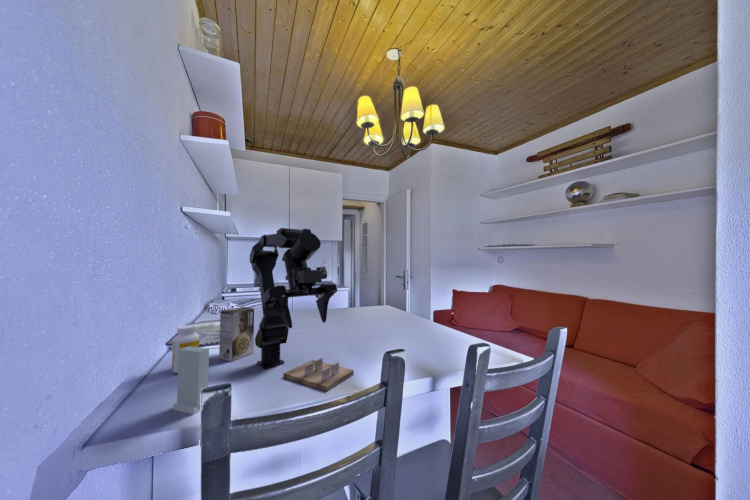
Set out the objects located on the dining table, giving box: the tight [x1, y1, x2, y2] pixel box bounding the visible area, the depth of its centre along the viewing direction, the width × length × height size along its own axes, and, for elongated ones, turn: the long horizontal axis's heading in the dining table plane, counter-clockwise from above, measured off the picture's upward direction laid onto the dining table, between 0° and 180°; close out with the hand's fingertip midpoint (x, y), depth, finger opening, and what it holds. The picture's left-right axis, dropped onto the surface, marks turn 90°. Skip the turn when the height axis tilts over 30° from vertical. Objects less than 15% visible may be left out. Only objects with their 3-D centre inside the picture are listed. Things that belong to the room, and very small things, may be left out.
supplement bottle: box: [171, 324, 200, 374], centre depth 81 cm, size 7×7×13 cm
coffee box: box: [218, 306, 255, 362], centre depth 92 cm, size 9×6×16 cm
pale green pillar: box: [172, 346, 210, 415], centre depth 60 cm, size 4×6×13 cm, turn 74°
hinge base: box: [282, 357, 355, 392], centre depth 77 cm, size 16×12×4 cm
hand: (308, 324), depth 66 cm, fingers open, 9 cm apart
